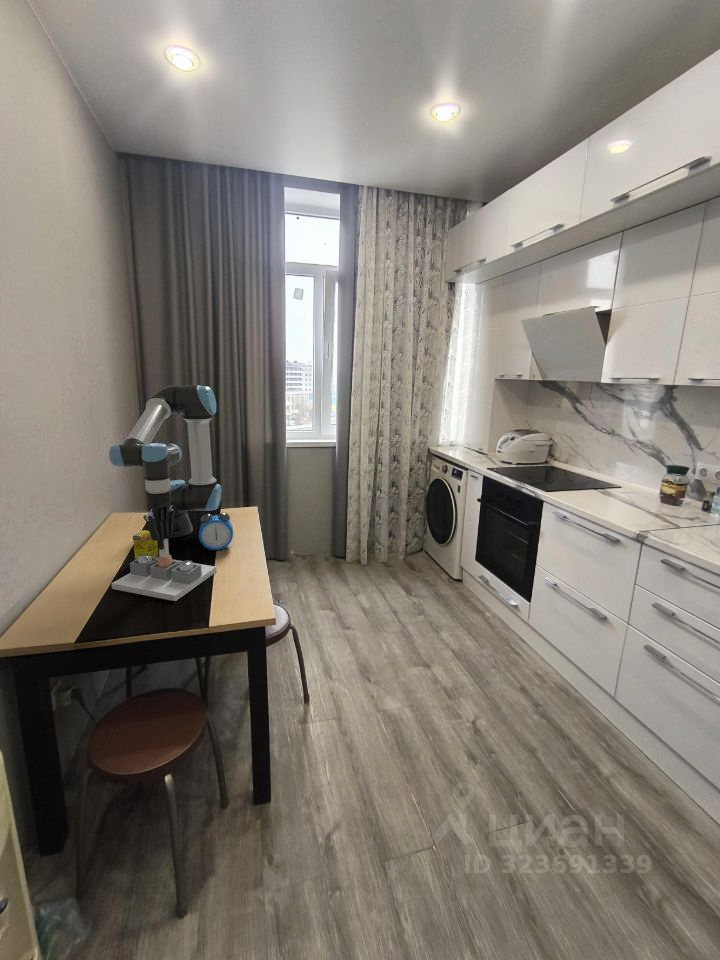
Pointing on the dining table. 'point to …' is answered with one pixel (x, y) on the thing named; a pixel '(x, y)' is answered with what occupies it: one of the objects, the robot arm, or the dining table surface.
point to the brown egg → (164, 562)
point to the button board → (162, 579)
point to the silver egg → (185, 566)
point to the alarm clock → (216, 531)
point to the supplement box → (144, 544)
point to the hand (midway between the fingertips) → (164, 556)
